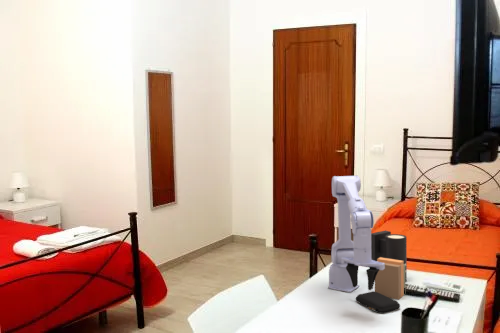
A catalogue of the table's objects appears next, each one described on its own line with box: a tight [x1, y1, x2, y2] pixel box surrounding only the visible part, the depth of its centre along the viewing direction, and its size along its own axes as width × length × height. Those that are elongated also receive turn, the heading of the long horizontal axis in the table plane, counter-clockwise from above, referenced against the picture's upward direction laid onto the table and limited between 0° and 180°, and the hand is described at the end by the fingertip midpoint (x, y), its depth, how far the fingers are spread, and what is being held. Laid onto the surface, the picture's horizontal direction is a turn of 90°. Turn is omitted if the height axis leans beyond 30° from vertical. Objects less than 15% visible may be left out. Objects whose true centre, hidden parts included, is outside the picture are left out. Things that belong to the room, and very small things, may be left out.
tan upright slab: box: [374, 257, 406, 300], centre depth 190 cm, size 8×9×13 cm
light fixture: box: [371, 229, 408, 283], centre depth 207 cm, size 10×14×18 cm
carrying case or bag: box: [355, 291, 401, 314], centre depth 179 cm, size 11×3×15 cm
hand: (362, 287), depth 171 cm, fingers open, 5 cm apart
